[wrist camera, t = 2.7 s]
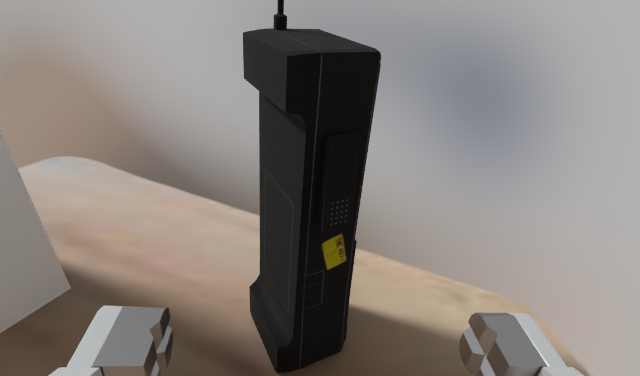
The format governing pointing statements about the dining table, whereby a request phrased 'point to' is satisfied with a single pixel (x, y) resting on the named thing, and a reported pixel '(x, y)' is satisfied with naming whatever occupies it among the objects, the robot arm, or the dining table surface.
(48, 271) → the milk
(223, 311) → the dining table surface
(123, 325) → the robot arm
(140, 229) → the dining table surface
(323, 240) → the portable radio
